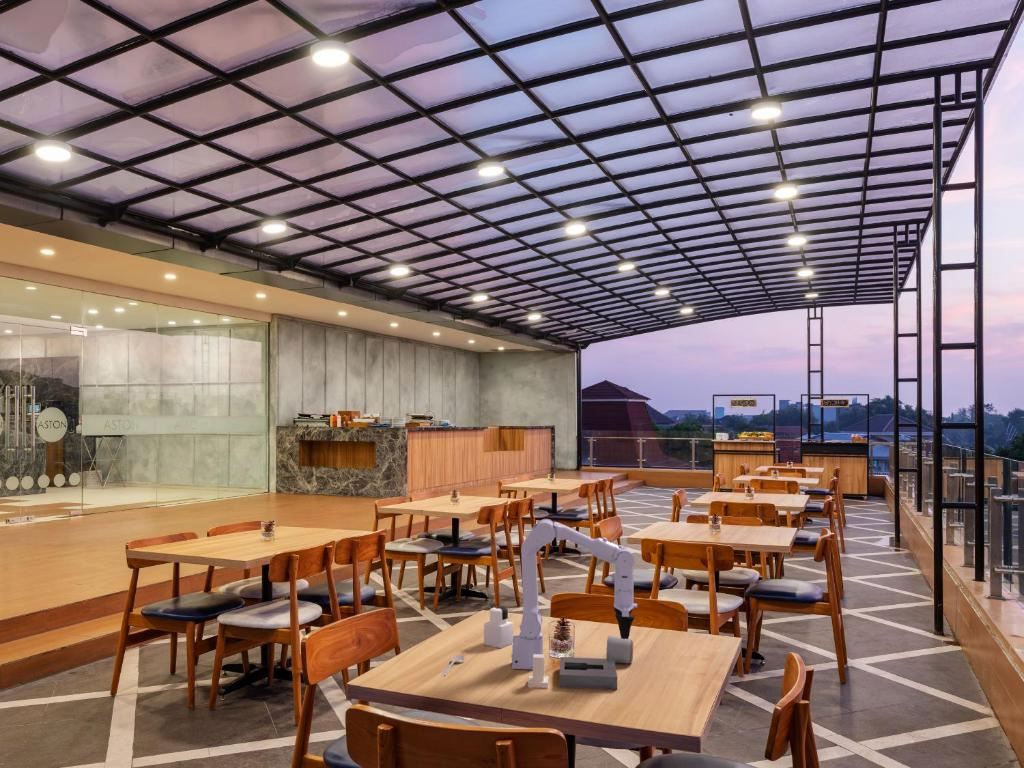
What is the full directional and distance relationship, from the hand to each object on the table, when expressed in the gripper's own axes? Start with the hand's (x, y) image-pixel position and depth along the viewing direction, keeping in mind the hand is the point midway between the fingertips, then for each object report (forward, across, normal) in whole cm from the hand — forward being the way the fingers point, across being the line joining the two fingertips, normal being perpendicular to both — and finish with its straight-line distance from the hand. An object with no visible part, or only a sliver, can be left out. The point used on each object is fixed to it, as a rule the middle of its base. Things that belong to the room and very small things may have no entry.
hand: (623, 635), depth 229 cm
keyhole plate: (+10, -10, +11) cm, 18 cm away
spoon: (+11, -5, +52) cm, 53 cm away
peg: (+10, -16, +25) cm, 31 cm away
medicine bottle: (+10, +21, +40) cm, 46 cm away
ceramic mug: (+10, +8, +1) cm, 13 cm away
